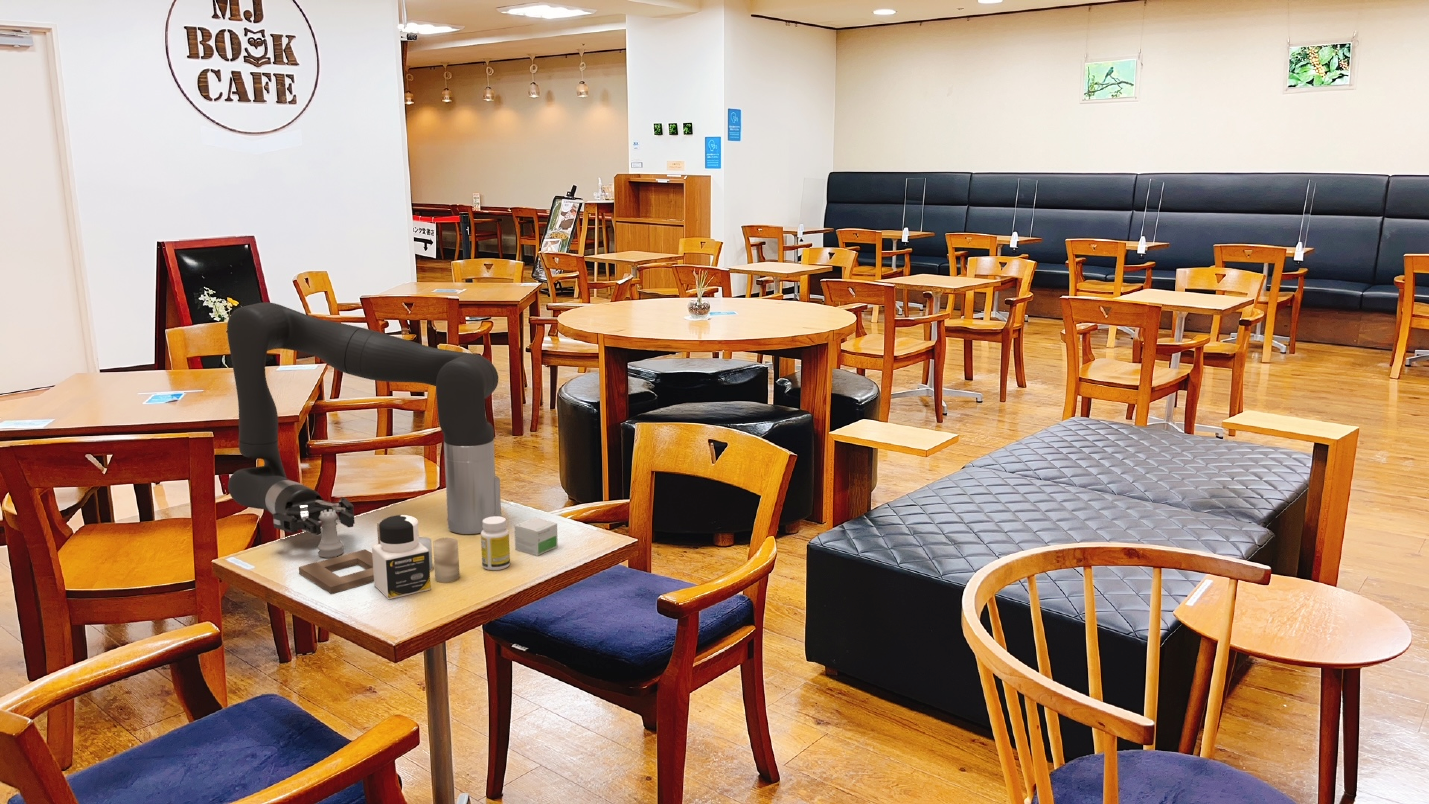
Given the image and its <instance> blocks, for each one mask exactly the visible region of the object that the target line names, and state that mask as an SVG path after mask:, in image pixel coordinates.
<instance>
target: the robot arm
mask: <svg viewBox="0 0 1429 804" xmlns="http://www.w3.org/2000/svg"><path fill="white" fill-rule="evenodd" d="M226 331H227V332H226V333H227V341H228V347H229V353H230V358H231V363H232V370H233V375H234V382H235V388H236V395H237V405H238V449H239V452H240V453H239V454H241V455H242V456H243V457H246V458H249V459H256V460H259V459H260V460H263V465H260V466H255V467H246V468H240V469H237V470H236V471H234V472H233V473H232V474H231V475H230V477H229V479H228V483H227V489H228V492H229V495H230V497H231V498H232V499H233V501H235V502H236V503H237V504H238V505H240V506H243V507H246V508H251V509H259V510H265V511H267V512H268V513H271V515H272V517H273V518H272V520H273V527H274V529H278V530H280V531H282V532H283V531H284V532H288V533H290V534H296V533H298V532H299V531H300V530H301V531H302V532H303V533H306V532H308V533H309V534H313V535H315V536H320V535H321V536H322V527H321V524H322V521H321V520H320V519H319V516H320V515H321V511H323V513H324V510H327V512H329V509H332V512H333V510H335V511H336V514H337V515H338V517H337V519H336V523H340V524H341V525H343V526H346V527H347V528H353V527H354V525H355V514H354V513H355V512H354V505H353V503H352V502H351V501H349V500H348V499H347V497H342V498H339V500H338V502H335V503H332V502H331V501H329V500H328V501H327V500H324V499H323V497H322V496H321V494H320V493H319V492H318V491H316V490H315V489H312V488H310V487H308V486H307V485H304V484H302V483H300V482H297V481H293V480H291V479H289V478H287V474H286V472H285V468H284V466H283V462H282V459H281V454H280V450H279V449H280V448H279V415H278V410H277V406H276V405H277V404H276V402H275V400H274V398H273V395H272V394H271V390H270V389H269V385H268V383H267V381H268V380H267V377H266V375H267V374H266V361H267V355H268V352H269V351H272V350H273V351H274V350H279V349H280V350H287V351H288V350H289V351H295V352H301V353H305V354H308V355H312V356H314V357H317V358H318V359H320V360H321V361H323V362H324V363H326V364H327V365H328V366H329V367H331V368H333V369H335V370H337V371H339V372H341V373H344V374H347V375H349V376H350V375H351V376H355V377H359V378H362V379H366V380H371V381H375V382H385V383H386V382H387V383H417V384H425V385H430V386H432V387H435V392H436V393H435V395H436V404H437V405H436V406H437V415H438V416H437V417H438V425H439V427H440V430H441V432H442V435H443V450H444V454H443V455H444V469H445V470H444V471H445V472H444V473H445V488H446V489H445V490H446V491H445V492H446V511H447V526H448V527H447V528H448V530H449V531H450V532H453V533H455V534H460V535H461V534H463V535H475V534H481V532H482V530H484V529H483V527H482V526H483V520H484V519H485V518H488V517H493V516H500V517H502V505H501V504H502V501H501V498H502V497H501V478H500V477H499V476H497V475H496V463H495V457H496V456H495V434H494V433H495V432H494V426H493V425H492V423H491V422H489V421H488V419H487V416H486V415H487V414H486V399H487V398H488V397H490V396H491V395H492V394H493V393H494V392H495V390H496V389H497V387H498V384H499V373H498V370H497V368H496V367H495V365H494V364H493V362H491V361H490V360H489V359H487V358H486V357H485V356H483V355H481V354H477V353H473V352H463V351H457V350H449V349H448V350H447V349H444V348H443V349H442V348H437V347H432V346H428V345H425V344H422V343H418V342H416V341H412V340H408V339H405V338H403V337H402V338H401V337H399V336H398V337H397V336H394V335H391V334H386V333H384V332H381V331H377V330H373V329H369V328H365V327H360V326H356V325H351V324H346V323H342V322H338V321H332V320H328V319H327V320H326V319H320V318H318V317H313V316H310V315H308V314H306V313H303V312H300V311H297V310H294V309H292V308H290V307H287V306H285V305H281V304H279V303H275V302H268V301H267V302H258V303H253V304H249V305H245V306H241V307H238V308H236V309H235V310H233V312H231V314H230V315H229V317H228V320H227V324H226Z"/></svg>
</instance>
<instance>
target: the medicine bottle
mask: <svg viewBox="0 0 1429 804" xmlns="http://www.w3.org/2000/svg"><path fill="white" fill-rule="evenodd" d="M379 522H380V524H379V530H380V544H378V543H377V544H374V545H372V546H371V553H372V557H373V572H374V582H373V583H374V584H373V585H374V587H376V589H378V590H379V591H380V592H381V593H382V594H383V595H384V596H385V597H386V598H387V599H388V600H392V599H396V598H401V597H406V596H409V595H414V594H419V593H423V592H427V591H430V590H431V589H432V586H431V584H432V581H431V570H430V564H429V550H428V549H427V548H426V547H425V546H423V545H422V544H421V543H420V542H419V537H420V535H419V534H420V532H419V520H418V519H417V518H416V517H414V516H411V515H406V514H396V515H392V516H389V517H386V518H383V519H382V520H381V521H379Z"/></svg>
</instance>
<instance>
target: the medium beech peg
mask: <svg viewBox="0 0 1429 804" xmlns="http://www.w3.org/2000/svg"><path fill="white" fill-rule="evenodd" d="M432 545H433V547H432V549H433V564H434V565H433V566H434V567H433V568H434V580H435V581H436V582H437V583H444V584H445V583H446V584H448V583H449V584H450V583H453V582H456V581H458V580H459V579H460V578H461V576H460V560H459V559H460V558H459V557H460V555H459V540H458V539H457V538H455V537H440V538H436V539H435V540H433V542H432Z"/></svg>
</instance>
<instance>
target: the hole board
mask: <svg viewBox="0 0 1429 804" xmlns="http://www.w3.org/2000/svg"><path fill="white" fill-rule="evenodd" d="M380 522H381V521H378V522H376V528H377V529H376V530H377V531H376V532H377V542H378V543H377V544H380V530H379V524H380ZM354 566H359V567H361V568H363V569H364V570H360V571H357V572H353V573H349V574H346V575H343V576H339V575H338V574H336V573H335V572H337V571H339V570H342V569H346V568H347V569H348V568H350V567H354ZM298 571H299V572H298V573H299V575H301V576H302V577H304V578H305V579H307V580H309V581H310V582H312V583H314V584H315V585H316V586H318V587H320V588H321V589H323V590H325V591H326V592H327V593H329V594H331V595H332V594H336V593H340V592H343V591H347V590H350V589H354V588H357V587H360V586H361V587H362V586H363V585H368V584H370V583H371V584H372V583H374V572H373V557H372V551H369V550H367V549H361V550H357V551H353V552H350V553H347V554H341V555H340V556H338V557H333V558H326V559H324V560H320V561H315V562H313V563H308V564H305V565H301V566H298Z"/></svg>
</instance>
